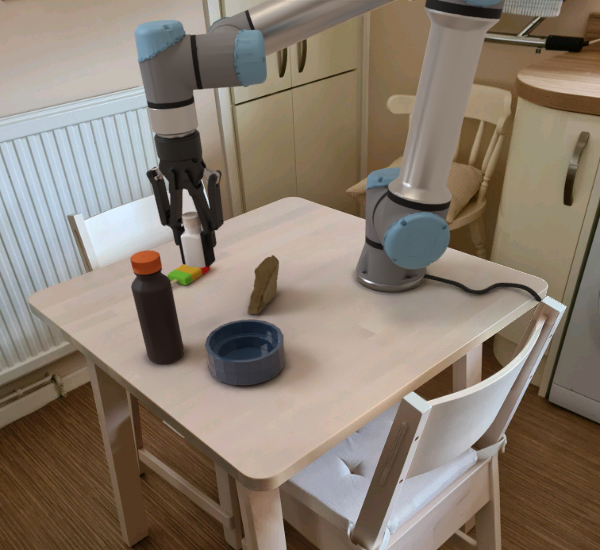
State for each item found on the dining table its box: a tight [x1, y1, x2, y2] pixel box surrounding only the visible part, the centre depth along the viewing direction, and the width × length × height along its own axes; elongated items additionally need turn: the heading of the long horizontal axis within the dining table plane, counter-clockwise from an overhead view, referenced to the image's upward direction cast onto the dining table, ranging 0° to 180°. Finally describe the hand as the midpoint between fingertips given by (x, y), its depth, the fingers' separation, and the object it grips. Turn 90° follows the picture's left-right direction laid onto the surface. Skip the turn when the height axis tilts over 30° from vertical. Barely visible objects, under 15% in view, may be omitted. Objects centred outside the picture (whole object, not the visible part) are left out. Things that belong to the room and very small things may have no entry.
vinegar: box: [129, 249, 185, 365], centre depth 110 cm, size 7×7×20 cm
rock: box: [247, 255, 280, 316], centre depth 128 cm, size 11×9×10 cm
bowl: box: [204, 318, 286, 386], centre depth 111 cm, size 14×14×6 cm
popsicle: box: [167, 263, 211, 286], centre depth 139 cm, size 6×15×2 cm, turn 147°
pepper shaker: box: [181, 210, 205, 268], centre depth 113 cm, size 4×4×10 cm
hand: (199, 262), depth 116 cm, fingers closed on pepper shaker, 4 cm apart
